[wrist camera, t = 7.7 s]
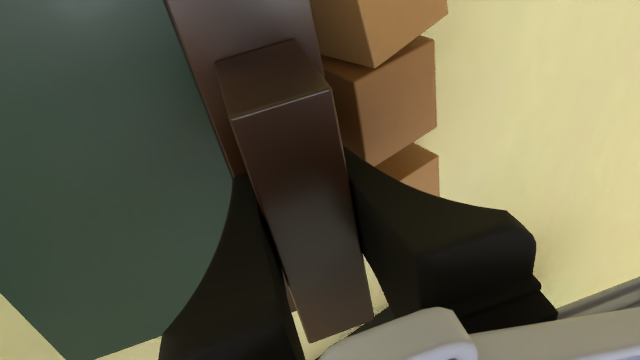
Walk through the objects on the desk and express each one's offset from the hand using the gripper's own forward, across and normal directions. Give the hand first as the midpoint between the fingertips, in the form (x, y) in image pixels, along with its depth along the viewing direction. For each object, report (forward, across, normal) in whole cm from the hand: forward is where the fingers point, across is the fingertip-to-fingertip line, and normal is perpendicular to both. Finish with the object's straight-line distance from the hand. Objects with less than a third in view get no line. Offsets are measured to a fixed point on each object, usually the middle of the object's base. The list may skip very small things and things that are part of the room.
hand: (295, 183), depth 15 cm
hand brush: (+4, 0, 0) cm, 4 cm away
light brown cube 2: (+5, -4, 0) cm, 6 cm away
